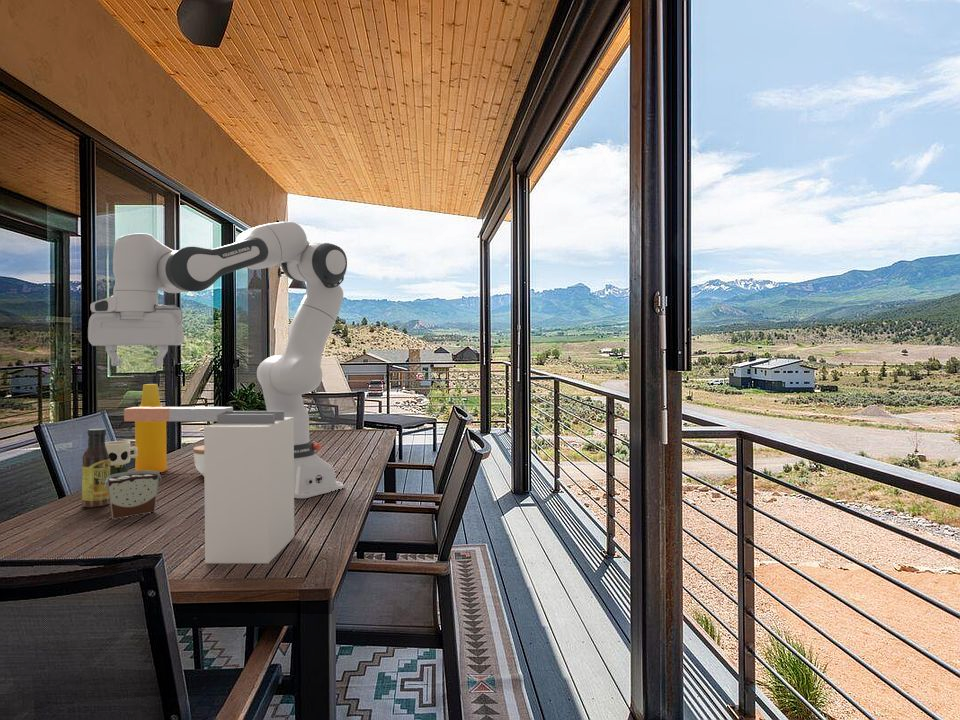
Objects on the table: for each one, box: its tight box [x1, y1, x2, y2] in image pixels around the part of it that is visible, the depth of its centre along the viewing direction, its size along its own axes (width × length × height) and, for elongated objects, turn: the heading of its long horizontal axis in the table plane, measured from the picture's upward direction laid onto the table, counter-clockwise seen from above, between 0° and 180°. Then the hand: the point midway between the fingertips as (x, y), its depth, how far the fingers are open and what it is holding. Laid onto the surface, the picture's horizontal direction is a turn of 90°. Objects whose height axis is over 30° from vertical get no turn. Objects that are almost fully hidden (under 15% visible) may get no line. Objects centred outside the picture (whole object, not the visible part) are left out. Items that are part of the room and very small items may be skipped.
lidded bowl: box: [192, 444, 204, 477], centre depth 195 cm, size 13×13×11 cm
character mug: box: [105, 440, 138, 475], centre depth 179 cm, size 11×7×13 cm, turn 130°
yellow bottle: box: [134, 383, 168, 474], centre depth 200 cm, size 9×9×29 cm
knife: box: [123, 406, 234, 422], centre depth 122 cm, size 20×4×2 cm, turn 90°
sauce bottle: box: [81, 428, 110, 509], centre depth 157 cm, size 7×6×20 cm
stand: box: [203, 410, 295, 564], centre depth 122 cm, size 12×16×28 cm
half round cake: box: [104, 470, 162, 520], centre depth 149 cm, size 12×6×10 cm, turn 134°
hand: (137, 365), depth 137 cm, fingers open, 8 cm apart
